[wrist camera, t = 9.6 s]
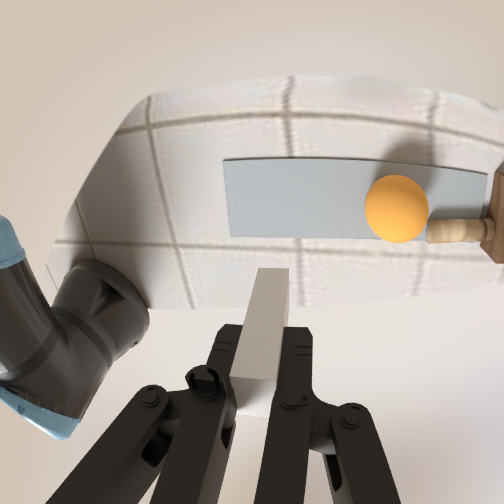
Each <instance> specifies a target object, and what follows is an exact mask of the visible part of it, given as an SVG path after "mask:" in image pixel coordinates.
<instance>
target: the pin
mask: <svg viewBox="0 0 504 504" xmlns="http://www.w3.org/2000/svg"><path fill="white" fill-rule="evenodd" d="M494 236H495V224H494V221H493V220H492V219H490V218H475V219H439V220H428V221H427V224H426V239H427V241H428V243H430V244H431V243H449V242H466V241H484V240H492V239H493V238H494Z"/></svg>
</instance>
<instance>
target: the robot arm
mask: <svg viewBox="0 0 504 504" xmlns="http://www.w3.org/2000/svg"><path fill="white" fill-rule="evenodd" d="M288 314H289V269H281V268H258V272H257V276H256V280H255V283H254V287H253V291H252V295H251V298H250V302H249V306H248V310H247V313H246V317H245V321H244V325H232V324H225V325H224V326H223V327H222V328H221V329H220V330H219V331H218V332H217V335H216V338H215V341H214V344H213V346H212V350H211V352H210V355H209V357H208V360H207V363H206V365H200V366H197V367H194V368H193V369H191V370H190V371H189V372H188V373H187V374H186V376H185V378H186V381H187V383H188V386H189V389H186V390H181V391H170V392H166V390H165V389H164V388H163V387H161V386H158V385H148V386H145V387H143V388H141V389H140V390H139V391H138V392H137V393H136V394H135V396H134V397H133V398H132V399H131V400H130V402H129V403H128V404H127V405H126V406H125V408H124V409H123V410H122V412H121V413H120V414H119V415H118V416H117V417H116V419H115V420H114V421H113V422H112V423H111V425H110V426H109V427H108V428H107V430H106V431H105V432H104V433H103V434H102V436H101V437H100V438H99V439H98V440H97V442H96V443H95V444H94V445H93V446H92V448H91V449H90V450H89V451H88V453H87V454H86V455H85V456H84V458H83V459H82V460H81V461H80V462H79V463H78V465H77V466H76V467H75V468H74V470H73V471H72V472H71V473H70V474H69V476H68V477H67V478H66V479H65V480H64V482H63V483H62V484H61V485H60V487H59V488H58V489H57V490H56V491H55V493H54V494H53V495H52V496H51V497H50V499H49V500H48V501H47V502H46V503H45V504H138V503H139V501H140V500H141V498H142V497H143V496H144V494H145V493H146V491H147V490H148V489H149V487H150V486H151V484H152V483H153V482H154V480H155V479H156V477H157V476H158V475H159V473H160V475H159V478H158V481H157V484H156V486H155V489H154V492H153V495H152V498H151V501H150V504H217V502H218V498H219V494H220V490H221V486H222V482H223V478H224V474H225V470H226V466H227V462H228V458H229V453H230V449H231V445H232V441H233V436H234V432H235V428H236V421H235V416H236V412H237V411H238V414H240V415H249V416H259V417H269V422H268V428H267V435H266V440H265V446H264V452H263V457H262V464H261V469H260V474H259V479H258V485H257V489H256V494H255V500H254V504H303V503H304V495H305V486H306V476H307V466H308V455H309V449H311V450H314V451H317V452H320V453H322V455H323V459H324V464H325V468H326V472H327V477H328V481H329V485H330V490H331V494H332V498H333V503H334V504H401V502H400V499H399V496H398V493H397V489H396V486H395V483H394V480H393V477H392V473H391V470H390V468H389V464H388V462H387V459H386V456H385V453H384V450H383V447H382V444H381V441H380V439H379V436H378V433H377V430H376V428H375V425H374V422H373V419H372V417H371V414H370V412H369V411H368V409H367V408H365V407H364V406H363V405H361V404H357V403H346V404H343V405H341V406H339V407H337V406H335V405H331V404H328V403H325V402H323V401H321V400H320V399H318V398H317V397H316V396H315V394H314V392H313V390H312V347H313V337H312V334H311V332H310V331H309V329H308V328H307V327H287V324H288ZM148 327H149V313H148V310H147V307H146V304H145V302H144V300H143V299H142V297H141V295H140V294H139V292H138V291H137V290H136V288H135V287H134V286H133V285H132V284H131V283H130V282H129V281H128V280H127V279H126V278H125V277H124V276H123V275H122V274H120V273H119V272H118V271H116V270H115V269H113V268H112V267H110V266H108V265H106V264H104V263H101V262H98V261H93V260H85V261H81V262H79V263H77V264H76V265H75V266H74V267H73V268H72V269H71V270H70V271H69V272H68V273H67V274H66V275H65V277H64V280H63V283H62V284H61V286H60V288H59V290H58V293H57V295H56V297H55V299H54V302H53V304H52V306H51V307H50V306H49V304H48V302H47V300H46V298H45V296H44V295H43V293H42V291H41V289H40V287H39V285H38V283H37V280H36V278H35V276H34V274H33V272H32V270H31V268H30V265H29V263H28V261H27V258H26V254H25V251H24V249H23V248H22V247H21V245H20V243H19V241H18V238H17V236H16V234H15V232H14V229H13V227H12V225H11V223H10V221H9V220H8V219H7V218H5V217H3V216H1V215H0V400H1V401H2V402H3V403H5V404H6V405H7V406H8V407H10V408H11V409H12V410H14V411H15V412H16V413H17V414H19V415H20V416H21V417H23V418H24V419H26V420H27V421H29V422H30V423H31V424H33V425H35V426H36V427H37V428H39V429H40V430H42V431H43V432H45V433H47V434H49V435H50V436H52V437H53V438H55V439H58V440H64V439H67V438H68V437H70V435H71V434H72V432H73V431H74V429H75V427H76V426H77V424H78V423H80V422H81V420H82V418H83V416H84V414H85V412H86V410H87V408H88V406H89V404H90V403H91V401H92V399H93V397H94V395H95V393H96V392H97V390H98V388H99V386H100V384H101V383H102V381H103V379H104V377H105V376H106V374H107V372H108V370H109V369H110V367H111V366H112V364H113V362H114V361H116V360H117V359H118V358H119V357H121V356H122V355H123V354H124V353H126V352H127V351H128V350H129V349H130V348H132V347H134V346H135V345H137V344H138V343H139V342H140V341H141V340H142V338H143V336H144V334H145V333H146V331H147V330H148Z"/></svg>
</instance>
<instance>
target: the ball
mask: <svg viewBox="0 0 504 504" xmlns="http://www.w3.org/2000/svg"><path fill="white" fill-rule="evenodd" d="M364 211H365V217H366V220H367V222H368V224H369V226H370V228H371V229H372V230H373V232H374V233H375V234H376V235H377V236H379V237H380V238H382V239H384V240H386V241H389V242H393V243H403V242H407V241H409V240H412V239H413V238H415V237H416V236H417V235H419V233H420V232H421V231H422V230H423V228H424V227H425V224H426V222H427V219H428V213H429V208H428V202H427V198H426V196H425V193H424V192H423V190H422V189H421V187H420V186H419V185H418V184H417V183H416V182H415V181H413V180H412V179H410V178H408V177H405V176H402V175H388V176H385V177H383V178H381V179H379V180H377V181H376V182H375V183H374V184H373V185H372V186H371V188H370V189H369V191H368V193H367V195H366V198H365V204H364Z"/></svg>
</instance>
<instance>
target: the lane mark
mask: <svg viewBox="0 0 504 504" xmlns="http://www.w3.org/2000/svg"><path fill="white" fill-rule="evenodd" d="M223 170H224V179H225V189H226V198H227V207H228V216H229V225H230V234H231V237H265V238H337V239H382V238H380V237H379V236H377V235H376V234H375V233H374V232H373V230H372V229H371V228H370V226H369V224H368V222H367V220H366V217H365V211H364V204H365V198H366V195H367V193H368V191H369V189H370V188H371V186H372V185H373V184H374V183H375V182H376V181H377V180H379V179H381V178H383V177H385V176H388V175H402V176H405V177H408V178H410V179H412V180H413V181H415V182H416V183H417V184H418V185H419V186H420V187H421V189H422V190H423V192H424V193H425V196H426V198H427V202H428V208H429V213H428V219H427V221H428V220H439V219H475V218H480V216H481V212H482V206H483V201H484V196H485V190H486V183H487V176H488V175H485V174H479V173H473V172H467V171H461V170H455V169H448V168H440V167H433V166H424V165H415V164H405V163H394V162H381V161H366V160H345V159H254V160H233V161H223ZM426 224H427V222H426ZM426 224H425V227H424V228H423V230H422V231H421V232H420V233H419V235H417V236H416V237H415V238H413V239H412V240H417V241H427V239H426ZM382 240H384V239H382ZM466 242H473V243H474V242H475V241H466Z"/></svg>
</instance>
